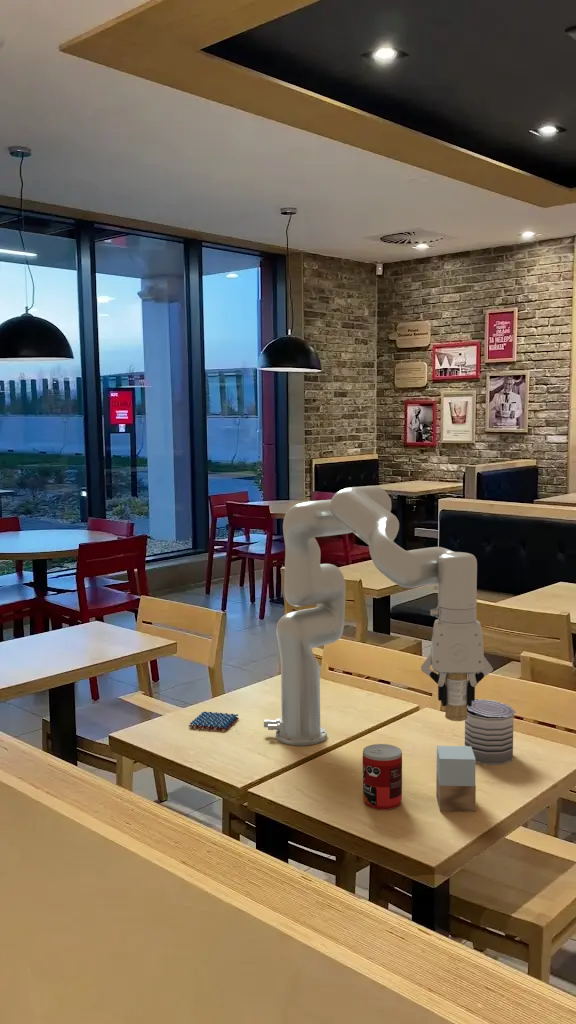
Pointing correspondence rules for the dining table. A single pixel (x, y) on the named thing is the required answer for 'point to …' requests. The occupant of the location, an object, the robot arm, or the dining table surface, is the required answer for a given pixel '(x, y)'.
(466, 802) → the tower base slab
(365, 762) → the canned food
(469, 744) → the can
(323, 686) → the dining table surface
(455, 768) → the pale grey-blue cube
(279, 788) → the dining table surface
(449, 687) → the sprinkles bottle
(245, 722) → the dining table surface
